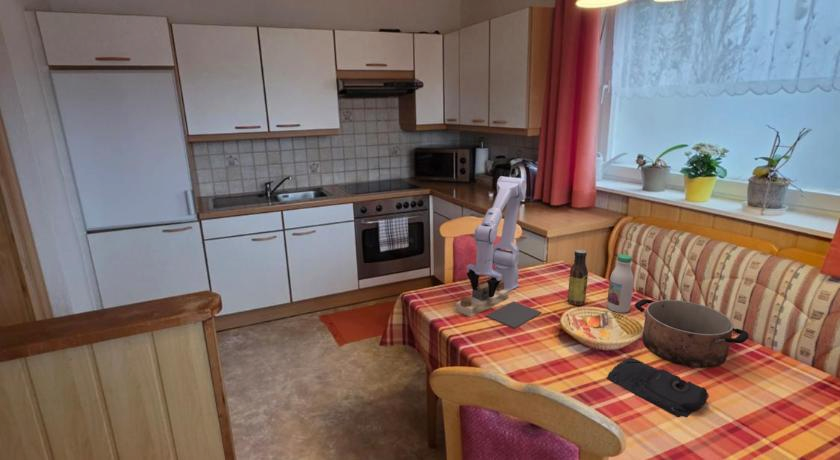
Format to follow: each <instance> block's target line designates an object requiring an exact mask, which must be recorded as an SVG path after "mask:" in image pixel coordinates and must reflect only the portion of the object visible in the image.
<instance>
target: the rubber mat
mask: <svg viewBox="0 0 840 460" xmlns="http://www.w3.org/2000/svg"><path fill="white" fill-rule="evenodd" d="M541 314H542V311H539V310H537V309H535V308H531V307H529V306H526V305H523V304H521V303H519V302H516V301H512V302H509V303H507V304H505V305H504V306H502V307H500V308H498V309H495V310H494V311H492V312H490V313H488V314H486V315H485V318H488V319H491V320H493V321H495V322H498V323H500V324H502V325H505V326H507V327H510V328H512V329H514V330H515V329H517V328H519V327H520V326H522V325H524V324H525V323H528V322H529V321H531V320H533V319H534V318H537V317H538V316H540V315H541Z"/></svg>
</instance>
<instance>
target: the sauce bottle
mask: <svg viewBox="0 0 840 460" xmlns="http://www.w3.org/2000/svg"><path fill="white" fill-rule="evenodd" d="M587 255H588V254H587V251H586V250H584V249H575V250H574V260H573V261H574V263H573V264H572V265H571V267H570V272H569V279H568V280H569V281H568V292H567V301H568V303H569V304H571V305H574V306H582V305H585V303H586V300H587V299H586V298H587V289H588V280H589V279H588V278H589V272H588V268H587V264H586V258H587Z"/></svg>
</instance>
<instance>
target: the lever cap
mask: <svg viewBox="0 0 840 460" xmlns="http://www.w3.org/2000/svg"><path fill="white" fill-rule="evenodd" d="M471 289H472V288H471ZM471 292H472V294H471V296H472V297H474V298H476V299H479V300H481V301H482V300H485V299H487V298H489V286H488V282H485V283H482V284H480V285H478V286H477V288H474V289H472V291H471Z"/></svg>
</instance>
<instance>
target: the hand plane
mask: <svg viewBox="0 0 840 460" xmlns="http://www.w3.org/2000/svg"><path fill="white" fill-rule="evenodd" d="M509 295H510V291H508V290H505V289H504V282H503V281H500V283H499V284H498V286H497V288H496V291H495V294H494V296H493V297H491V298H490V297H489V298H487V299H485V300H482V301H481V300H479V299H476V298H474V297H472V295H470V296H467V295H466V296H462V297H460V300H459V301H457V302H455V311H456V312H458V313H461V314H462V315H465V316H467V317H470V318H473V317H474V316H475V315H478V314H480V313H482V312H484V311H486V310H488V309H490V308H492V307H494V306H496V305H498V304H500V303H501V302H504V301H505V300H507V299H509V297H510V296H509Z"/></svg>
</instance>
